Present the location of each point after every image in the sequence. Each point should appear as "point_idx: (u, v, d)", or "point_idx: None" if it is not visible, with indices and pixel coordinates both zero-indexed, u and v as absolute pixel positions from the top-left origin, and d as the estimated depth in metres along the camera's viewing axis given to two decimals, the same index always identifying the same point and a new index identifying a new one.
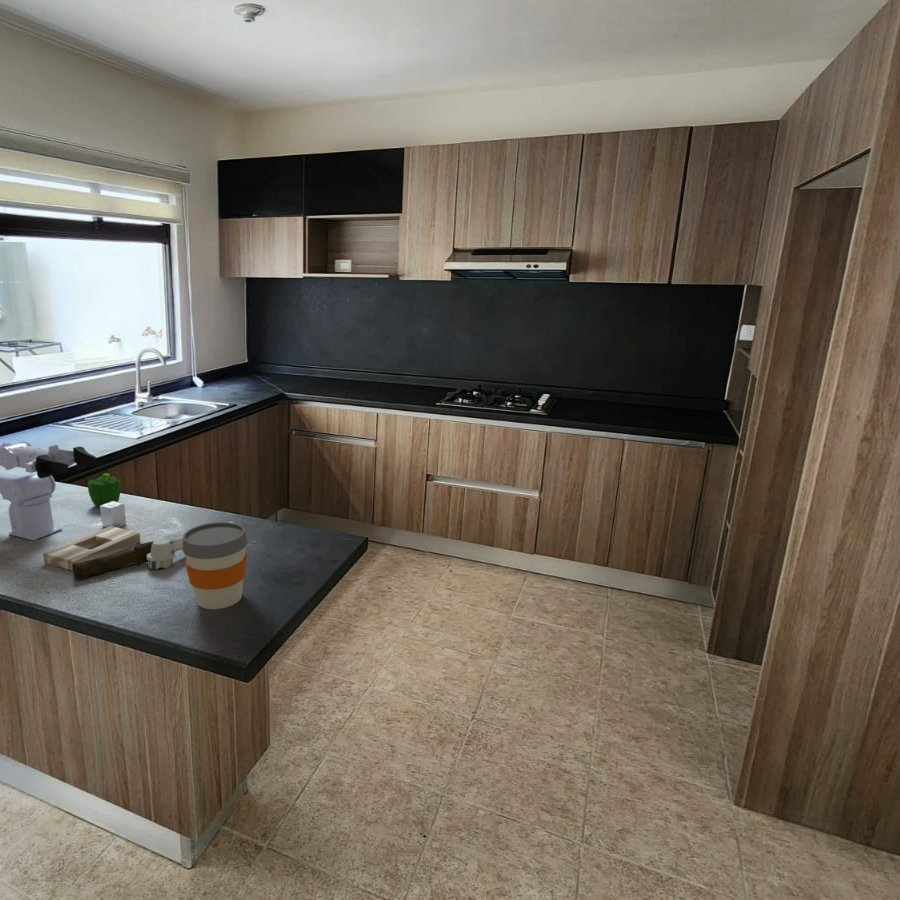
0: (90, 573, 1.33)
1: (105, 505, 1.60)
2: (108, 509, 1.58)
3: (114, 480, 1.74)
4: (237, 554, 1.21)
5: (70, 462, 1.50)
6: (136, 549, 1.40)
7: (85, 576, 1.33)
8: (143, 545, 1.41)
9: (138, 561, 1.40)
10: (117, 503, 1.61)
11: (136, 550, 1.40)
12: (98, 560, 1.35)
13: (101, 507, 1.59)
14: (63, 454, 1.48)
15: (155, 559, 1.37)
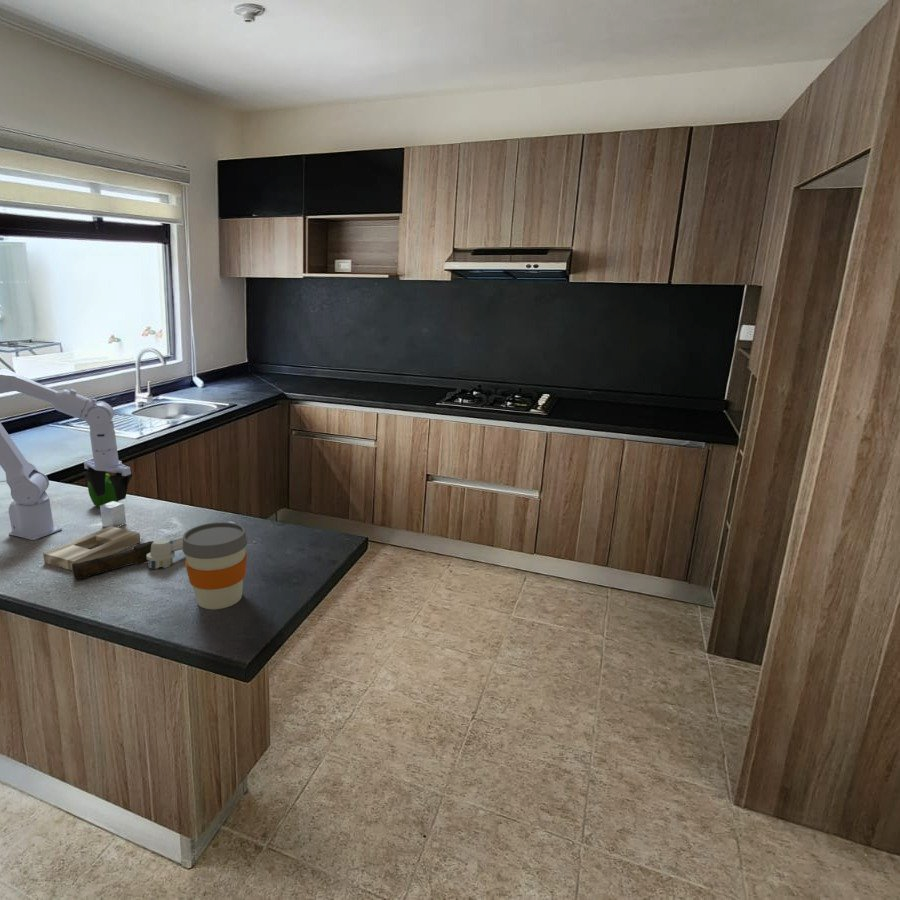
0: (90, 573, 1.33)
1: (105, 505, 1.60)
2: (108, 509, 1.58)
3: None
4: (237, 554, 1.21)
5: None
6: (136, 549, 1.40)
7: (85, 576, 1.33)
8: (143, 545, 1.41)
9: (138, 561, 1.40)
10: (117, 503, 1.61)
11: (136, 550, 1.40)
12: (98, 560, 1.35)
13: (101, 507, 1.59)
14: None
15: (154, 559, 1.37)
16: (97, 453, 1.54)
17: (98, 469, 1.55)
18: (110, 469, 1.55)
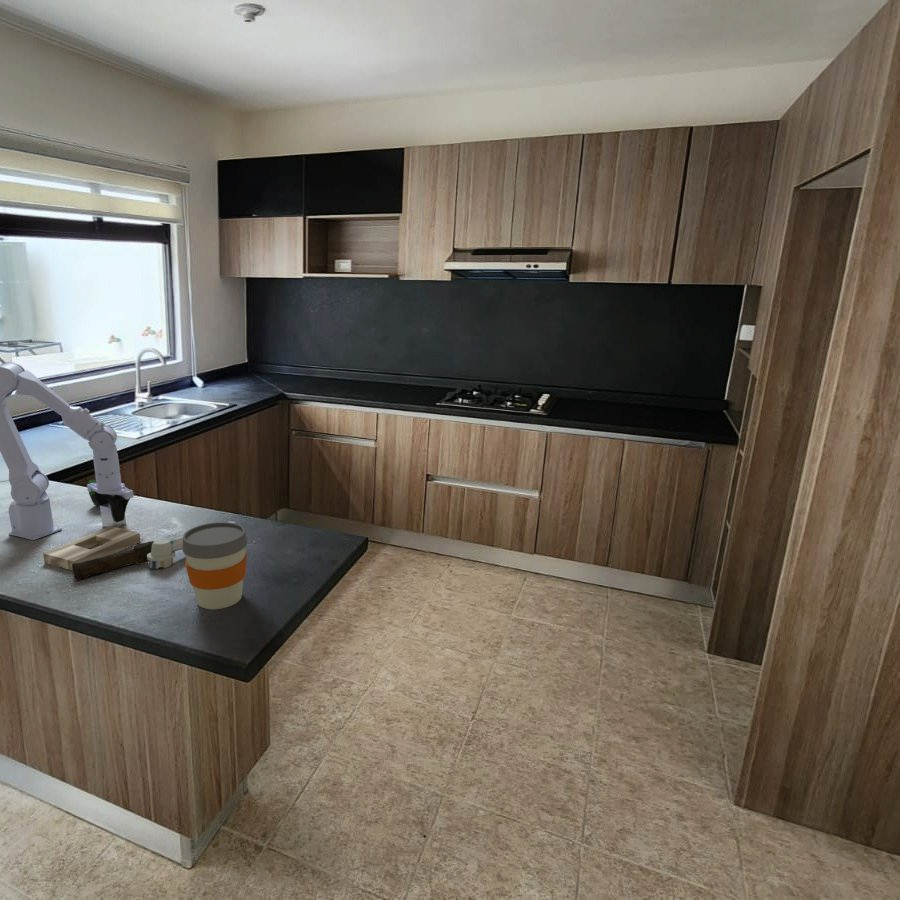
0: (90, 573, 1.33)
1: (105, 505, 1.60)
2: (108, 509, 1.58)
3: None
4: (237, 554, 1.21)
5: None
6: (136, 549, 1.40)
7: (85, 576, 1.33)
8: (143, 545, 1.41)
9: (138, 561, 1.40)
10: None
11: (136, 550, 1.40)
12: (98, 560, 1.34)
13: (101, 507, 1.59)
14: None
15: (155, 559, 1.37)
16: (100, 477, 1.55)
17: (101, 492, 1.56)
18: (113, 492, 1.56)
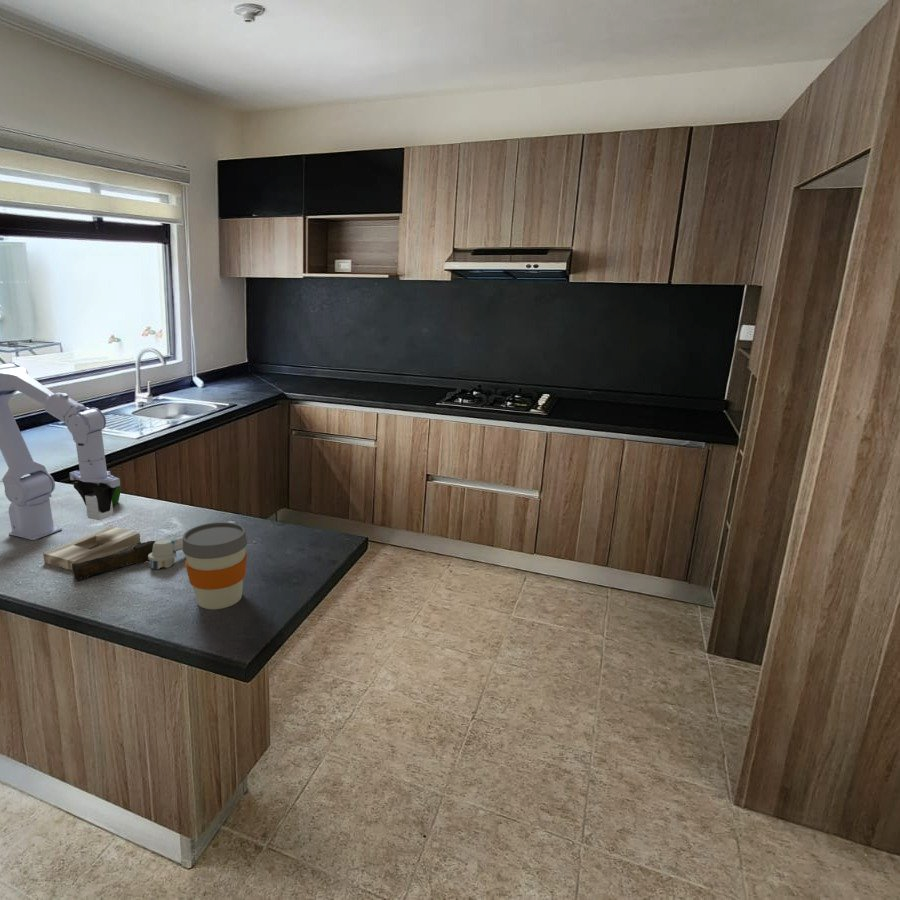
0: (90, 573, 1.33)
1: (91, 495, 1.48)
2: (94, 499, 1.47)
3: None
4: (237, 554, 1.21)
5: None
6: (136, 548, 1.40)
7: (85, 576, 1.33)
8: (142, 544, 1.41)
9: (138, 560, 1.40)
10: None
11: (136, 549, 1.40)
12: (98, 560, 1.34)
13: (86, 497, 1.48)
14: None
15: (156, 559, 1.37)
16: (84, 463, 1.44)
17: (85, 480, 1.45)
18: (98, 480, 1.45)
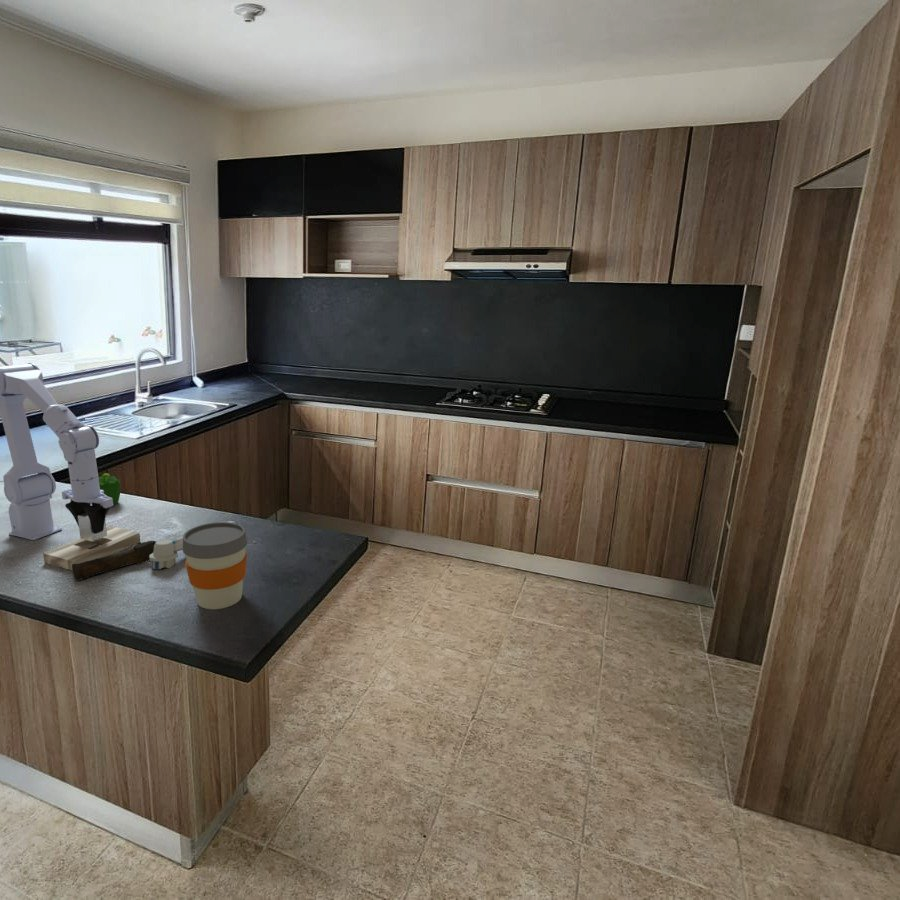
0: (90, 573, 1.33)
1: (83, 514, 1.43)
2: (87, 519, 1.42)
3: (114, 480, 1.74)
4: (237, 554, 1.21)
5: None
6: (136, 548, 1.40)
7: (86, 576, 1.33)
8: (142, 544, 1.41)
9: (138, 560, 1.40)
10: None
11: (136, 549, 1.40)
12: (98, 560, 1.35)
13: (79, 517, 1.43)
14: None
15: (158, 559, 1.37)
16: (75, 483, 1.38)
17: (77, 500, 1.39)
18: (90, 500, 1.39)
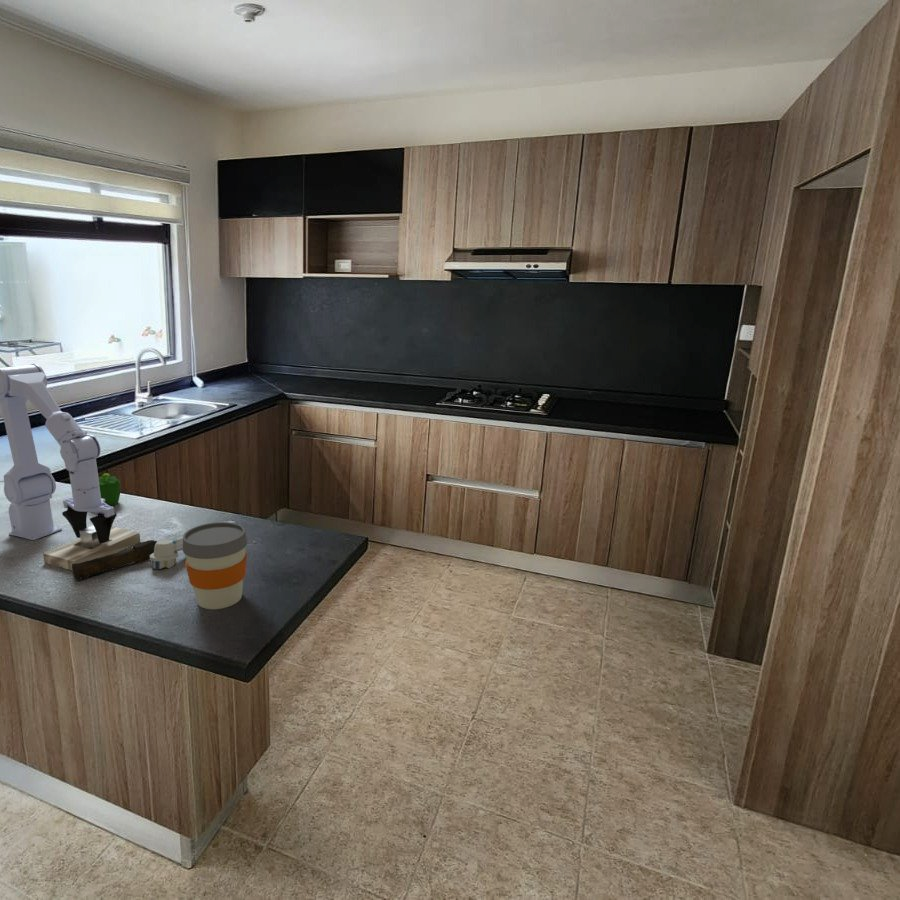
0: (91, 573, 1.33)
1: (85, 530, 1.44)
2: (89, 534, 1.43)
3: (114, 480, 1.74)
4: (237, 554, 1.21)
5: None
6: (135, 548, 1.40)
7: (86, 576, 1.33)
8: (142, 544, 1.42)
9: (137, 560, 1.40)
10: None
11: (135, 549, 1.40)
12: (98, 560, 1.35)
13: (81, 532, 1.44)
14: None
15: (159, 559, 1.37)
16: (77, 492, 1.39)
17: (78, 510, 1.40)
18: (91, 510, 1.40)
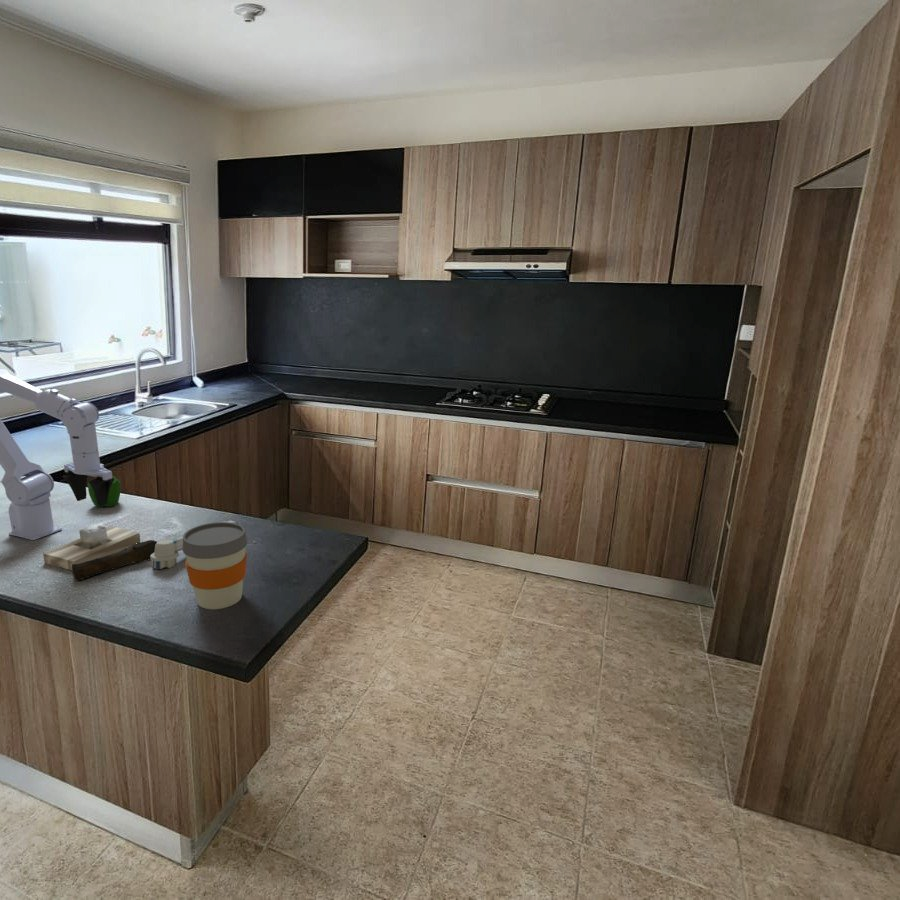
0: (91, 573, 1.33)
1: (85, 530, 1.44)
2: (89, 534, 1.43)
3: (114, 480, 1.74)
4: (237, 554, 1.21)
5: None
6: (135, 548, 1.40)
7: (86, 576, 1.33)
8: (141, 544, 1.42)
9: (137, 560, 1.41)
10: (99, 527, 1.46)
11: (135, 549, 1.40)
12: (98, 560, 1.35)
13: (81, 532, 1.43)
14: None
15: (159, 559, 1.37)
16: (77, 456, 1.46)
17: (78, 473, 1.47)
18: (90, 473, 1.47)
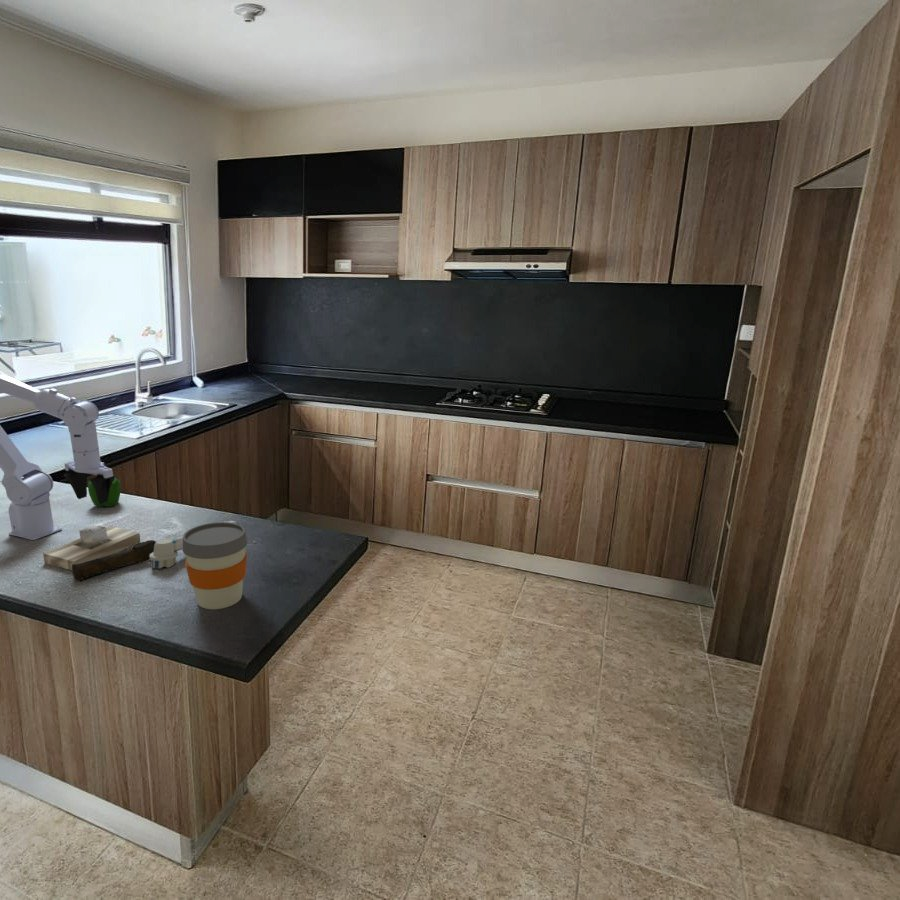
0: (91, 573, 1.33)
1: (85, 530, 1.44)
2: (89, 534, 1.43)
3: (114, 480, 1.74)
4: (237, 554, 1.21)
5: None
6: (135, 548, 1.40)
7: (86, 577, 1.32)
8: (142, 544, 1.42)
9: (137, 560, 1.41)
10: (99, 527, 1.46)
11: (135, 549, 1.40)
12: (98, 560, 1.34)
13: (81, 532, 1.44)
14: None
15: (158, 558, 1.37)
16: (78, 454, 1.48)
17: (79, 471, 1.49)
18: (91, 471, 1.48)
